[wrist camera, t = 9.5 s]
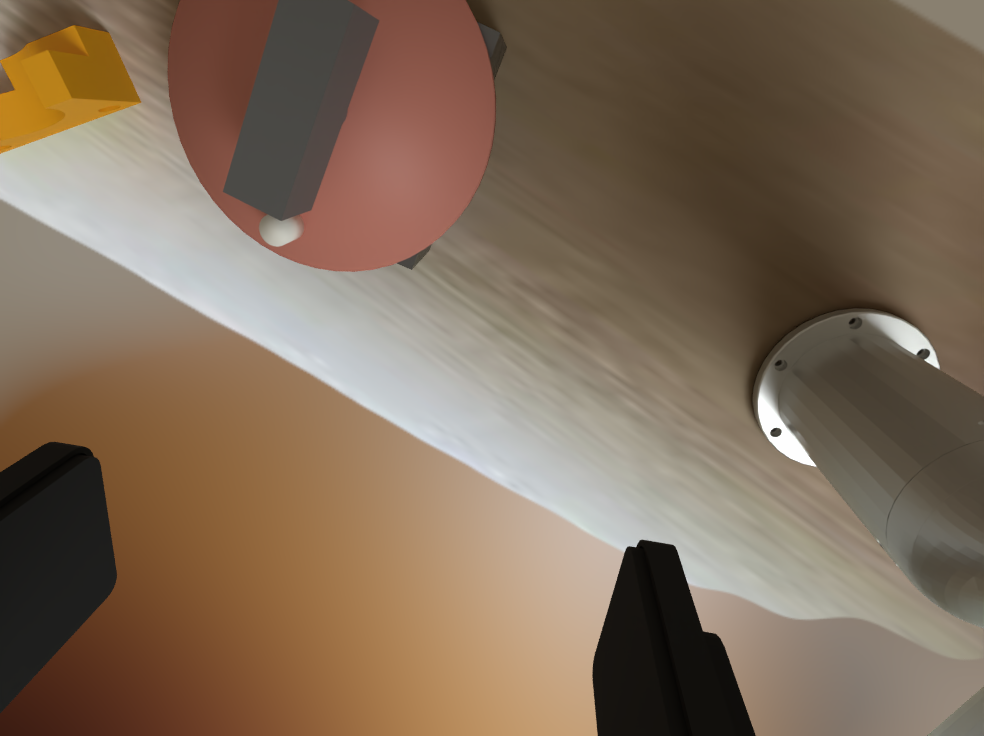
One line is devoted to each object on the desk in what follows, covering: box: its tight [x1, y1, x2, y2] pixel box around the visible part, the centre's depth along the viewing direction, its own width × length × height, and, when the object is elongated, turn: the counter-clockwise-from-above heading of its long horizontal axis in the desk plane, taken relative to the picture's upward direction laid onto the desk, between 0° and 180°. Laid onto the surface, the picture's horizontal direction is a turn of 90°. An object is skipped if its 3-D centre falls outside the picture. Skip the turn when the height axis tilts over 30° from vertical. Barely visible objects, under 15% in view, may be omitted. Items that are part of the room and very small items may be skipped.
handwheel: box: [168, 0, 496, 272], centre depth 29 cm, size 18×18×7 cm
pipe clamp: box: [0, 25, 141, 154], centre depth 37 cm, size 12×4×6 cm, turn 106°
